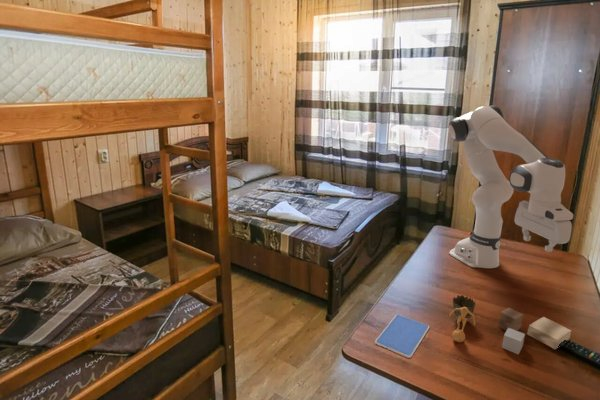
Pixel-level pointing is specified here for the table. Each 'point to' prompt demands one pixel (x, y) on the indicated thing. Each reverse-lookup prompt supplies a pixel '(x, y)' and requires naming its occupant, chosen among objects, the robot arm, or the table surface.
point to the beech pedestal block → (548, 332)
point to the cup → (463, 305)
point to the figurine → (459, 334)
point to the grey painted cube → (513, 340)
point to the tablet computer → (402, 335)
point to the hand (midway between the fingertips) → (537, 245)
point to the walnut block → (510, 319)
